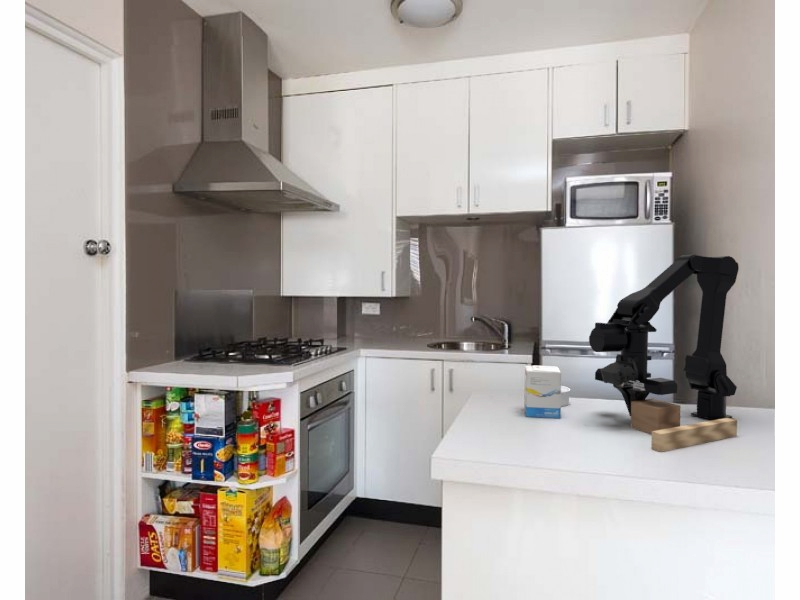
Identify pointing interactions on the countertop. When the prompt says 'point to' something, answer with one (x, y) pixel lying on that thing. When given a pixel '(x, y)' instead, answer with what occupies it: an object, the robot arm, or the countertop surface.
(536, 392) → the ink box
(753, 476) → the countertop surface
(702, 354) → the robot arm
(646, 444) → the countertop surface
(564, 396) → the ramekin
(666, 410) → the walnut block
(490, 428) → the countertop surface
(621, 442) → the countertop surface
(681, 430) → the oak plank
